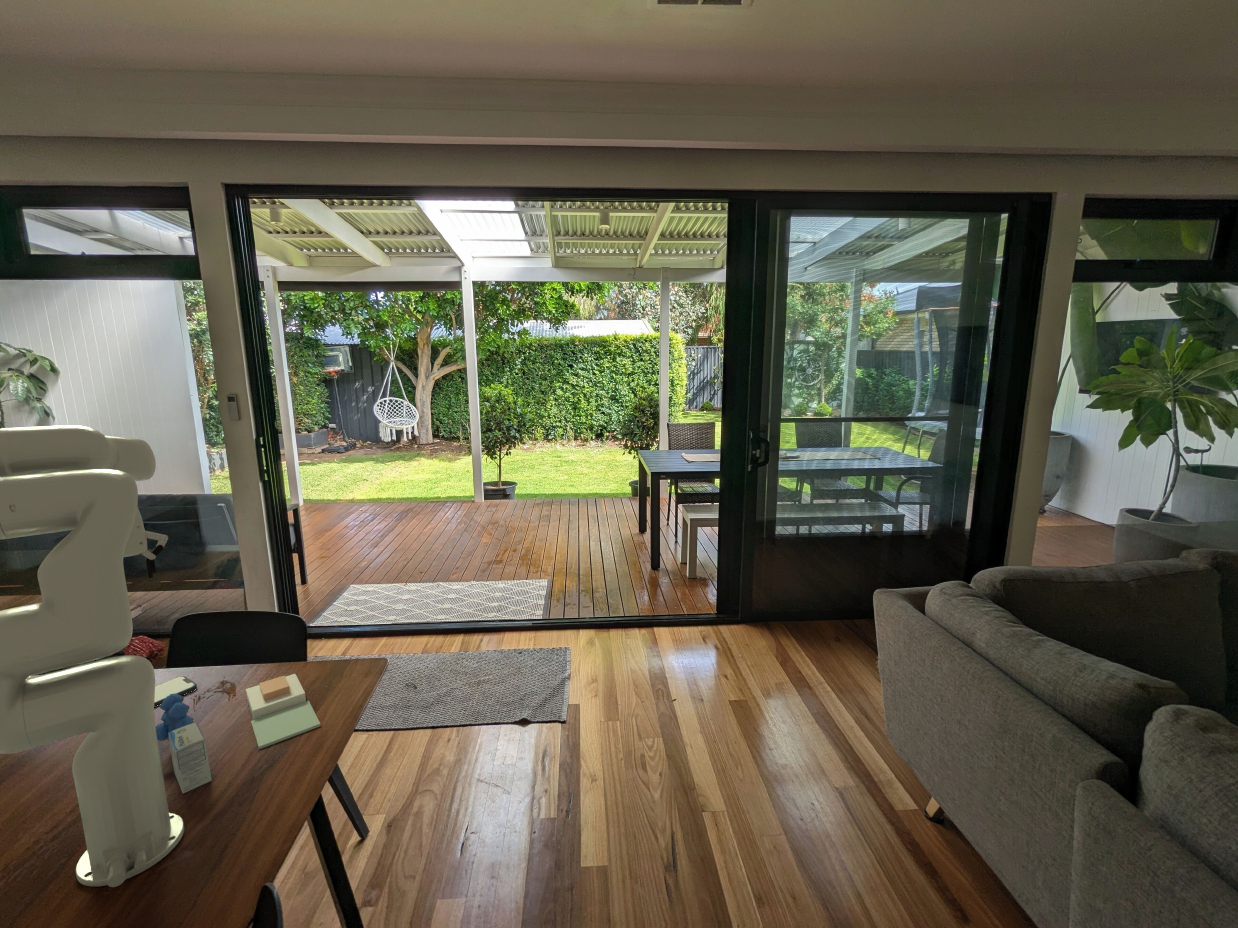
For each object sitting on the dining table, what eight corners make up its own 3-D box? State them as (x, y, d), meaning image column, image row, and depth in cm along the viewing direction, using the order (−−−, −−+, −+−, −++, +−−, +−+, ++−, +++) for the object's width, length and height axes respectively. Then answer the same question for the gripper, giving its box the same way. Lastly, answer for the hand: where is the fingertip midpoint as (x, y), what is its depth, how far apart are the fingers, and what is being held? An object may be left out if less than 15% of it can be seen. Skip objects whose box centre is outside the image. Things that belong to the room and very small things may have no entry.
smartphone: (111, 728, 116) (199, 690, 129) (110, 721, 116) (198, 684, 129) (97, 715, 121) (184, 680, 134) (96, 708, 121) (182, 674, 134)
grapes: (146, 752, 107) (136, 696, 105) (187, 734, 113) (179, 681, 111) (164, 777, 100) (154, 718, 99) (208, 756, 106) (199, 700, 104)
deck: (306, 702, 123) (305, 692, 123) (253, 721, 117) (252, 710, 116) (296, 682, 131) (295, 673, 131) (246, 698, 125) (245, 688, 125)
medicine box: (212, 781, 99) (206, 738, 98) (181, 795, 96) (174, 751, 95) (203, 761, 105) (197, 720, 103) (173, 773, 101) (167, 731, 100)
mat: (320, 725, 115) (320, 723, 115) (259, 749, 108) (258, 746, 108) (309, 703, 123) (308, 700, 123) (251, 723, 116) (250, 720, 116)
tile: (290, 692, 123) (289, 685, 123) (264, 700, 120) (263, 694, 120) (285, 681, 128) (284, 675, 127) (260, 689, 124) (259, 683, 124)
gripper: (45, 514, 103) (61, 599, 106) (163, 499, 115) (174, 576, 117) (47, 507, 108) (62, 589, 111) (160, 494, 120) (171, 568, 123)
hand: (120, 582), depth 114 cm, fingers open, 9 cm apart
